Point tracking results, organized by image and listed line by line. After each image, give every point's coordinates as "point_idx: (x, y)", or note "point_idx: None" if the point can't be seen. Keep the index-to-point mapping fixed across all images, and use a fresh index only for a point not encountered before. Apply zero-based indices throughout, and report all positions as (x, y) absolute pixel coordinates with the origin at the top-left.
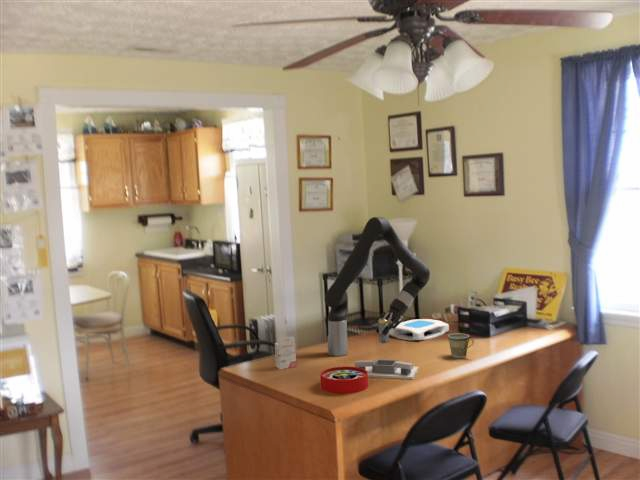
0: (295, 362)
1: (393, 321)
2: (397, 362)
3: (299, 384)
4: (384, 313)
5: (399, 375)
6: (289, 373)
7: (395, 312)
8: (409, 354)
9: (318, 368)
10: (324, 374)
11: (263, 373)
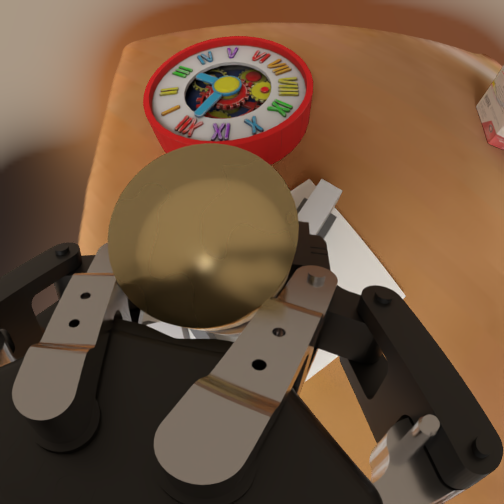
0: (493, 135)
1: (24, 279)
2: (166, 327)
3: (332, 56)
4: (442, 464)
5: None
6: (437, 95)
7: (1, 459)
8: None
9: (452, 170)
10: (288, 63)
11: (457, 71)
